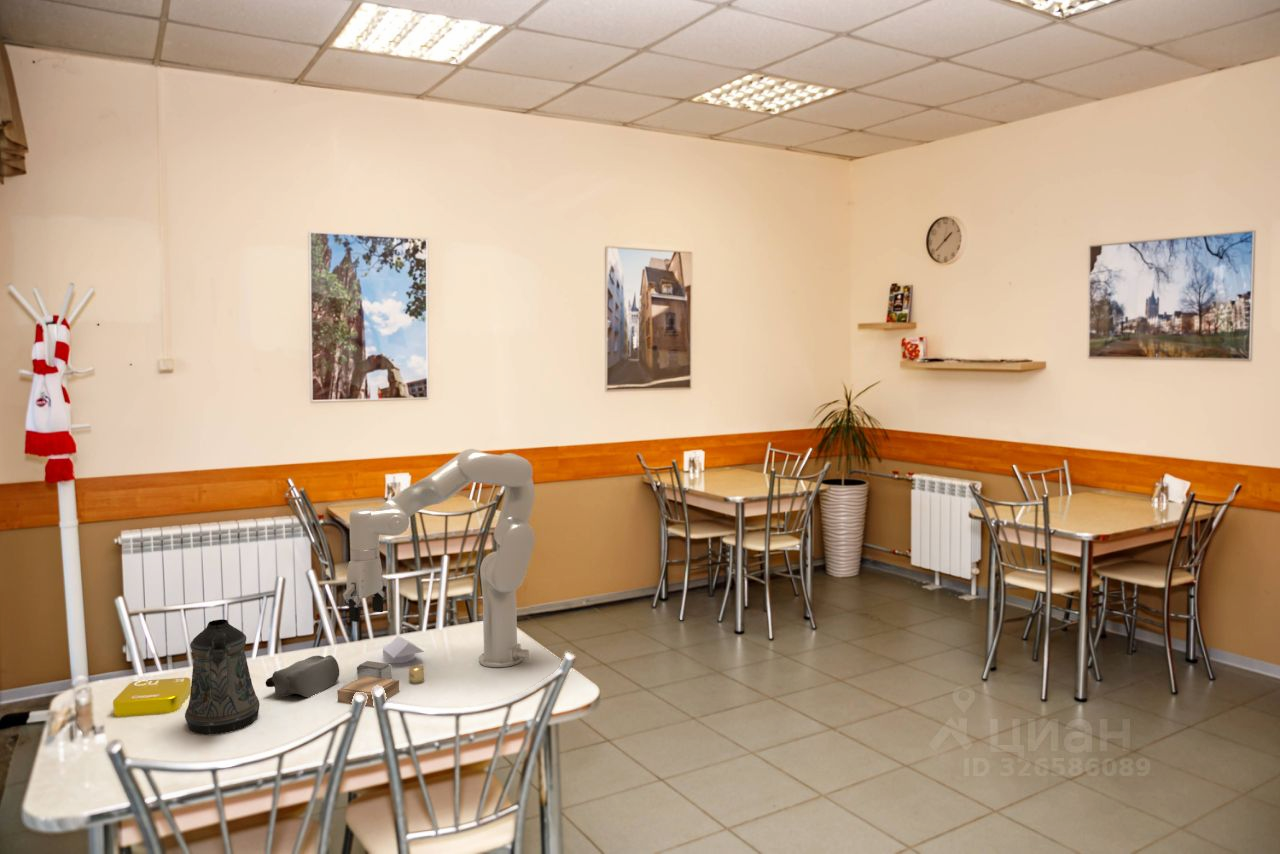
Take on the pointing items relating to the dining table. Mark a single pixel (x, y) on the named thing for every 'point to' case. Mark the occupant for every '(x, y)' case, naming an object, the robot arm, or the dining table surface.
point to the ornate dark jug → (220, 682)
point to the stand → (367, 688)
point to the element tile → (152, 697)
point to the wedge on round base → (400, 651)
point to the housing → (374, 670)
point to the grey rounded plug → (305, 676)
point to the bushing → (416, 674)
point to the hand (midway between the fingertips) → (366, 616)
